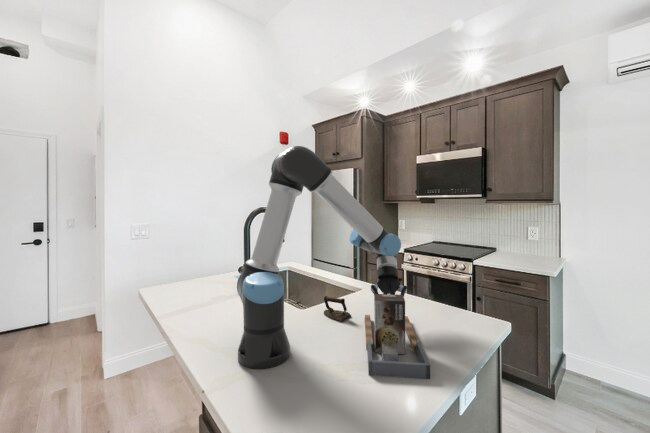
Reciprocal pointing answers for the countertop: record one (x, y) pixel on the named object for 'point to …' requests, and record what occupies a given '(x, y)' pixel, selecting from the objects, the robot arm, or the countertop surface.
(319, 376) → the countertop surface
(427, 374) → the tray
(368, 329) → the slot rails
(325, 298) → the clothes iron
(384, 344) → the chip
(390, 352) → the chip
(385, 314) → the cookie box
